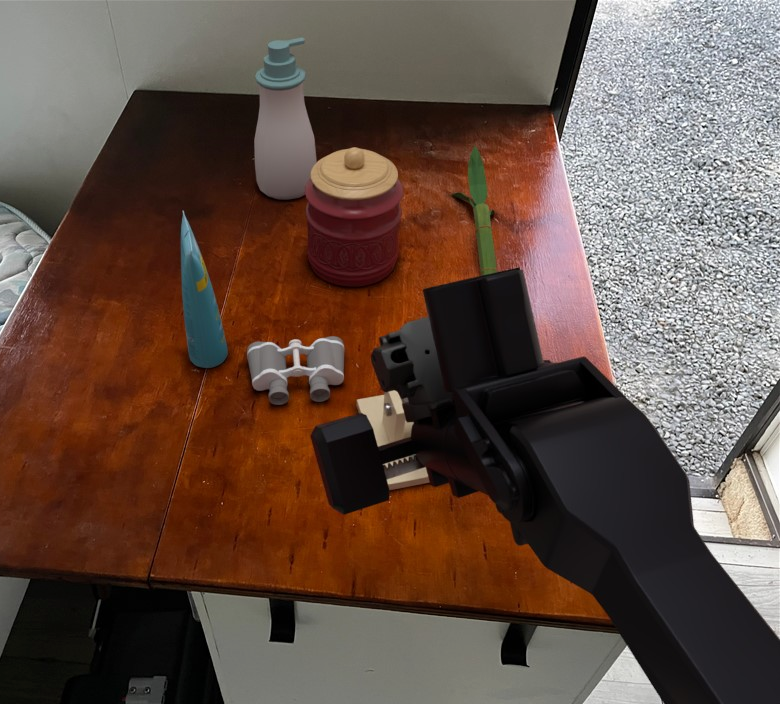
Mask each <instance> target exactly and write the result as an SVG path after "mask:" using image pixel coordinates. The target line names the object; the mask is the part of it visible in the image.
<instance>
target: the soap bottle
mask: <svg viewBox="0 0 780 704" xmlns="http://www.w3.org/2000/svg"><path fill="white" fill-rule="evenodd" d="M305 42H306V39H305V38H304V37H302V36H301V37H298V38H292V39H289V40H282V39H277V40H276V39H275V40H272V41H270V42H269V43H268V44H267V51H268V54H267V55H265V56H264V57H263V67H261V68H260V69H259V70H257V71H256V74H255V76H254V79H255V82H256V83H257V84H258V91H259V109H258V110H259V111H258V117H257V124H256V128H255V135H254V147H253V148H254V170H255V180H256V183H257V186H258V188H259V191H261V192H262V193H263V194H264V195H266V196H267V197H269V198H272V199H276V200H285V201H287V200H295V199H299V198H301V197H304V196H305V186H306V183H307V182H308V180H309V179H310V178H311V170H312V168H313V166H314V165H315V164H316V163H317V153H316V152H317V150H316V142H315V135H314V132H313V128H312V125H311V121H310V119H309V115H308V111H307V108H306V104H305V93H304V82H305V81H306V77H307V74H306V72H305V70H304V69H303V68H302V67H300V66H298V65H296V57H295V55H294V54H293V53H291V52H290V48H292V47H297V46H301V45H305Z"/></svg>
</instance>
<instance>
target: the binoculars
mask: <svg viewBox="0 0 780 704" xmlns="http://www.w3.org/2000/svg"><path fill="white" fill-rule="evenodd" d="M345 352H346V351H345V345H344V340H343V339H341V337H339V336H336V335H331V336H326V337H321V338H318V339H316V340H314V341H313V343H311V345H309V346H304V345H303V344H302V341H301V340H300V339H298V338H295V339H292V340H291V339H290V341H289V342H288V346H287V347H284V348H281V347H280V346H278V344H276V343H274V342H272V341H267V342H265V341H254V342H252V343H250V344H249V345H248V347H246V358H247V359H246V360H247V363H248V368H249V372H250V377H251V385H252V387H253V389H254V390H256V391H258V392H259V391H260V392H261V391H266V390H269V392H268V401H269V403H271V404H272V405H274V406H275V405H276V406H282V405H285V404H287V403H288V402H289V400H290V393H289V391H288V386H289V385H288V383H289V382H288V378H290V377H294V378H295V377H297V378H298V377H303V376H307V377H308V384H309V387H310V389H309V398H310V399H311V400H312V401H314V402H317V403H320V402H325V401H327V400H329V398H330V397H331V390H330V387H329V385H330V386H331V385H332V386H338V385H341V384H342V383H344V380H345V375H344V373H345V372H344V371H345V369H344V368H345ZM300 355H305V356H306V365H307V366H303V365H301V359H300ZM287 356H292V358H293V359H292V360H293V366H292V367H288V368H287Z"/></svg>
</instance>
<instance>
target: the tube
mask: <svg viewBox="0 0 780 704" xmlns="http://www.w3.org/2000/svg"><path fill="white" fill-rule="evenodd" d="M204 260H205V259H204V258H203V255H202V252H201V250H200V247H199V245H198V241H197V240H196V238H195V235H194V232H193V230H192V228H191V225H190V223H189V221H188V219H187V217H186V214H185V211H184V210H182V219H181V226H180V273H181V274H180V275H181V295H182V308H183V319H184V328H185V335H186V343H187V350H188V357H189V360H190V362H191V363H192V364H193V365H194V366H196V367H199V368H202V369H212V368H215V367H217V366H220V365H221V364H223V363H224V362H225V360H226V359H227V357H228V355H229V350H228V344H227V341H226V340H227V339H226V336H225V330H224V327H223V323H222V318H221V314H220V310H219V305H218V303H217V299H216V294H215V292H214V289H213V285H212V281H211V279H210V276H209V273H208V269H207V267H206V263H205V261H204Z"/></svg>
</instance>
